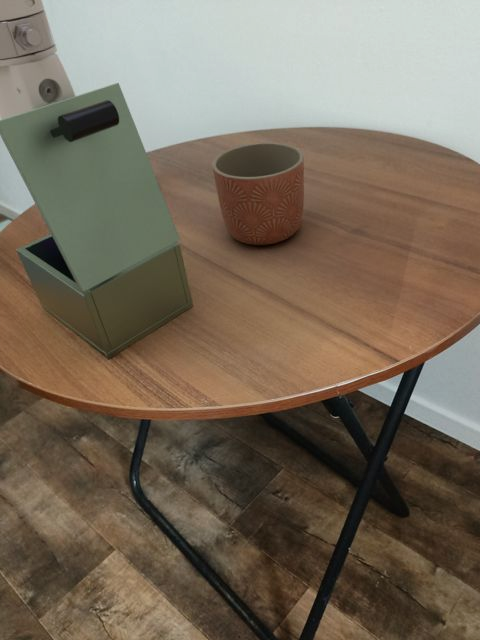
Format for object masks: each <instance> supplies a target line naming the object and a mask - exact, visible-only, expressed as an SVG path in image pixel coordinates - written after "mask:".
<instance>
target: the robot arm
mask: <svg viewBox="0 0 480 640" xmlns="http://www.w3.org/2000/svg"><path fill="white" fill-rule="evenodd" d="M57 51H58V49H57V46H56V43H55V39H54V37H53V32H52V30H51V26H50V23H49V19H48V16H47V13H46V11H45V6H44V4H43V0H0V120H3V119H6V118H9V117H12V116H15V115H18V114H21V113H25V112H28V111H31V110H34V109H37V108H40V107H43V106H46V105H50V104H53V103H56V102H59V101H62V100H65V99H68V98H72V97H75V96H76V94H75V91H74V88H73V86H72V83H71V81H70V79H69V76H68V74H67V72H66V69H65V67H64V66H63V63H62V61H61V59H60V58H59V55H58V54H57Z"/></svg>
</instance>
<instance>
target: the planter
mask: <svg viewBox="0 0 480 640" xmlns="http://www.w3.org/2000/svg"><path fill="white" fill-rule="evenodd" d="M304 163H305V155H304V153H303V152H302V151H301V149H300V148H298V147H296V146H294V145H291V144H287V143H283V142H271V141H269V142H267V141H265V142H263V141H261V142H253V143H247V144H242V145H238V146H235V147H232V148H230V149H227V150H225V151H223V152H221V153H220V154H218V155H217V156H216V157H215V158H214V160H213V161H212V165H211V166H212V172H213V177H214V182H215V188H216V192H217V193H216V194H217V198H218V204H219V207H220V213H221V216H222V219H223V223H224V226H225V228H226V230H227V232H228V233H229V235H230V236H231V237H232V238H234V239H235V240H237V241H238V242H240V243H242V244H246V245H251V246H268V245H274V244H278V243H280V242H283V241H285V240H288V239H289V238H290V237H292V236H293V235H294V234H295V233H296V232H297V231H298V230H299V228H300V226H301V224H302V221H303V216H304V207H305V206H304V202H305V201H304V199H305V166H304V165H305V164H304Z"/></svg>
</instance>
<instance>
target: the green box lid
mask: <svg viewBox="0 0 480 640" xmlns="http://www.w3.org/2000/svg"><path fill="white" fill-rule="evenodd" d="M0 138H1V140H2V142H3V143H4V145H5V147H6V149H7V152H8V153H9V155H10V157H11V159H12V161H13V163H14V165H15V167H16V169H17V171H18V173H19V174H20V176H21V179H22V180H23V182H24V184H25V186H26V188H27V190H28V192H29V194H30V196H31V198H32V200H33V202H34V204H35V206H36V208H37V211H38V212H39V213H40V215H41V217H42V219H43V222H44V223H45V225H46V227H47V229H48V231H49V234H51V235H52V237H53V239H54V241H55V242H56V244H57V246H58V248H59V250H60V252H61V254H62V256H63V258H64V260H65V262H66V264H67V266H68V268H69V270H70V272H71V274H72V275H73V277H74V279H75V281H76V283H77V285H78V287H79V289H80V291H81V292H85V291H87V290H89V289H91V288H93V287H94V286H96V285H98V284H100V283H102V282H104V281H106V280H107V279H109V278H111V277H113V276H115V275H117V274H119V273H121V272H122V271H124V270H126V269H128V268H130V267H132V266H134V265H135V264H137V263H139V262H141V261H143V260H145V259H147V258H148V257H150V256H152V255H154V254H156V253H158V252H160V251H162V250H163V249H165V248H167V247H169V246H171V245H173V244H175V243H176V242H177V243H179V242H180V241H181V238H180V235H179V233H178V230H177V227H176V225H175V222H174V220H173V218H172V215H171V212H170V210H169V207H168V205H167V202H166V200H165V196H164V194H163V192H162V189H161V187H160V184H159V182H158V179H157V177H156V174H155V172H154V168H153V167H152V165H151V162H150V159H149V156H148V154H147V152H146V149H145V146H144V144H143V142H142V139H141V136H140V134H139V131H138V129H137V126H136V123H135V121H134V119H133V116H132V114H131V111H130V107H129V105H128V103H127V101H126V98H125V96H124V93H123V91H122V88H121V85H120V83H119V82H116V83H112V84H109V85H106V86H103V87H99V88H96V89H94V90H91V91H87V92H84V93H81V94H78V95H75V97H72V98H68V99H65V100H62V101H59V102H56V103H53V104H50V105H46V106H43V107H40V108H37V109H34V110H31V111H28V112H25V113H21V114H18V115H15V116H12V117H9V118H6V119H3V120H2V119H0Z"/></svg>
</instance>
